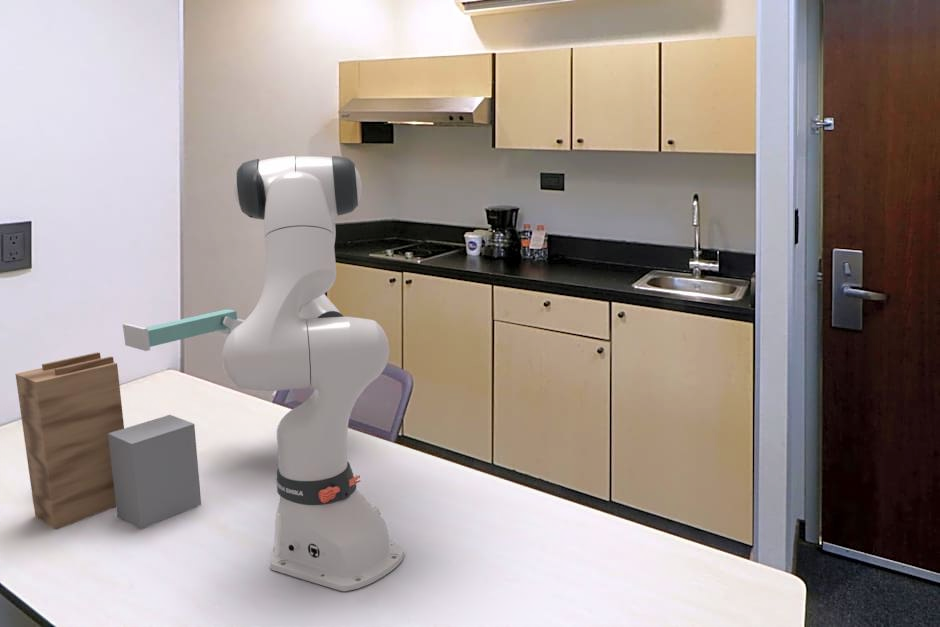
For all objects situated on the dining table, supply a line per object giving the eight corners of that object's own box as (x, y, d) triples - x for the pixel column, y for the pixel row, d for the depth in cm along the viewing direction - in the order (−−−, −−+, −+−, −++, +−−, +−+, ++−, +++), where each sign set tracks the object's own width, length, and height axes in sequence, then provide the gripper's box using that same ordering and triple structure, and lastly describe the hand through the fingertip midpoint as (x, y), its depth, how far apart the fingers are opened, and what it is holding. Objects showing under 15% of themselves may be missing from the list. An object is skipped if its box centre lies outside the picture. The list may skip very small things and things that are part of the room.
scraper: (243, 326, 150) (242, 307, 149) (146, 351, 134) (143, 329, 133) (222, 322, 154) (220, 303, 153) (125, 345, 138) (122, 324, 137)
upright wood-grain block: (131, 500, 143) (116, 358, 137) (55, 529, 132) (35, 376, 126) (110, 489, 148) (94, 351, 142) (35, 516, 137) (14, 368, 131)
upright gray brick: (201, 504, 141) (194, 423, 138) (140, 529, 132) (131, 444, 129) (177, 492, 146) (169, 414, 143) (117, 516, 137) (107, 433, 133)
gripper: (242, 320, 166) (191, 298, 156) (304, 333, 154) (253, 309, 143) (232, 347, 165) (180, 326, 154) (293, 362, 153) (241, 340, 142)
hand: (216, 318), depth 149 cm, fingers closed on scraper, 3 cm apart
